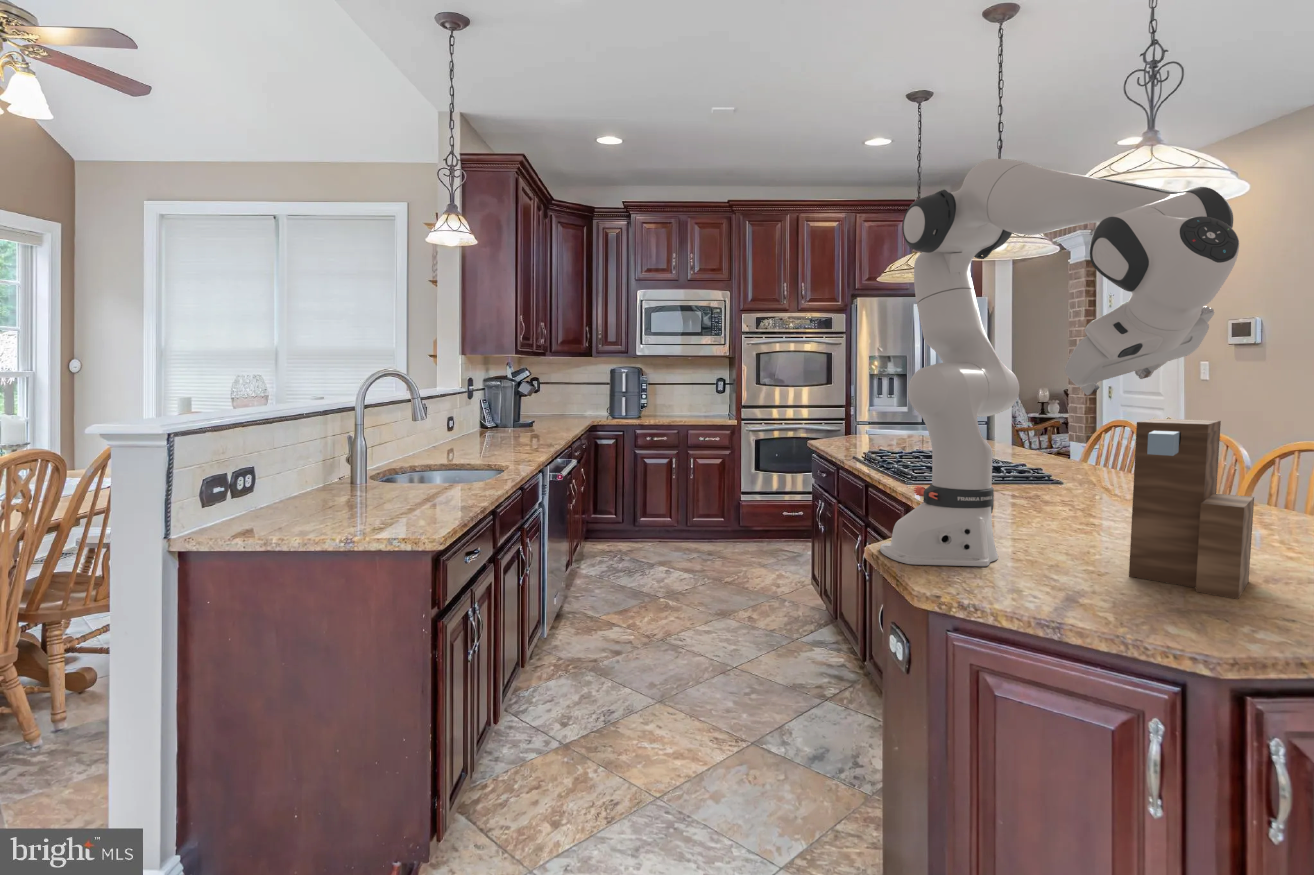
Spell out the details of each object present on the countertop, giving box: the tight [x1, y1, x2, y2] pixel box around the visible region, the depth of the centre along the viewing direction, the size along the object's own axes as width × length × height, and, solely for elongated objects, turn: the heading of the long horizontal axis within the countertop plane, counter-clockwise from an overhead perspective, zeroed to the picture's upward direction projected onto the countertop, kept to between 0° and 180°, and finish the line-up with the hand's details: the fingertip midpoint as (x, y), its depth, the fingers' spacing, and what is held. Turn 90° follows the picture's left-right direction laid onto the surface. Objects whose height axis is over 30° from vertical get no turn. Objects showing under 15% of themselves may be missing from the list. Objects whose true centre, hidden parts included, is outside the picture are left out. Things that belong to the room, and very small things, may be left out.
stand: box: [1128, 418, 1255, 600], centre depth 122 cm, size 17×16×28 cm
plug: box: [1147, 431, 1181, 456], centre depth 120 cm, size 20×4×4 cm, turn 134°
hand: (1114, 383), depth 112 cm, fingers open, 8 cm apart
